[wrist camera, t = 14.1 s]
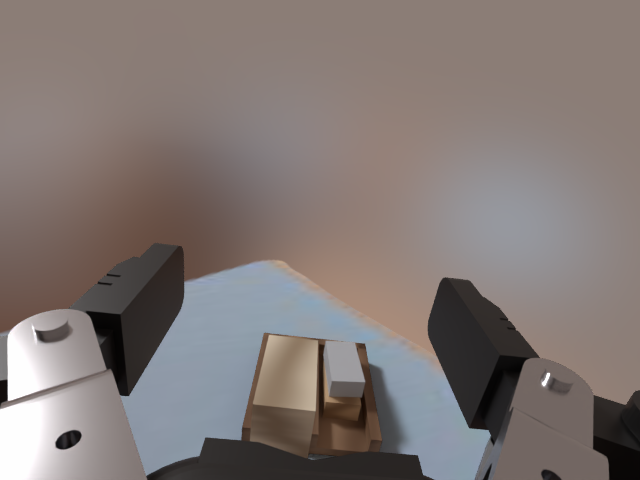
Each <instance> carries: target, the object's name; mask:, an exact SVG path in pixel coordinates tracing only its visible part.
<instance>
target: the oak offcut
mask: <svg viewBox="0 0 640 480" xmlns="http://www.w3.org/2000/svg"><path fill="white" fill-rule="evenodd" d="M322 390H323V417H324V418H334V419H344V420H355V421H358V416H359V412H360V408H361V401H360V397H330V396H329V393H328V386H327V378H326V371H325V364H324V363H323V368H322Z"/></svg>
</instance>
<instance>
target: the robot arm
mask: <svg viewBox="0 0 640 480" xmlns="http://www.w3.org/2000/svg"><path fill="white" fill-rule="evenodd" d="M183 299H184V253H183V248H182V247H181V246H176V245H167V244H159V243H155V244H153V245H152V246H151V247H150V248H149V249H148V250H147V251H146V252H145V253H144V254H143V255H142V256H141V257H140V258H138V257H132V258H130V259H128V260H126V261H124V262H121V263H119V264H117V265H116V266H115V267H114V268H113V269H112V270H110V271H109V272H108V273H107V276H104V277H103V278H102V279H100V280H99V281H98V284H95V285H94V286H93V287H92V288H91V289H89V290H88V291H87V292H86V293H85V294H84V295H83V296H82V297H81V298H79V300H77V301H76V302H75V303H74V304H73V305H72V306H71V307H69V308H68V309H61V310H52V311H47V312H43V313H40V314H37V315H34V316H32V317H30V318H28V319H26V320H24V321H22V322H21V323H19V324H18V325H16V326H15V327H14V328H13V329H12V330H11V331H10V333H9V335H8V336H0V480H434V479H432V478H429V477H427V476H424V475H423V473H422V469H421V466H420V462H419V458H418V455H406V454H395V453H383V452H371V451H365V452H360V453H354V454H348V455H343V456H337V457H331V458H326V459H320V460H311V459H307V458H304V457H301V456H298V455H295V454H293V453H290V452H287V451H284V450H281V449H278V448H275V447H272V446H269V445H266V444H263V443H260V442H252V441H240V440H229V439H217V438H205V441H204V444H203V447H202V450H201V453H200V456H198V457H192V458H188V459H185V460H181V461H178V462H175V463H172V464H170V465H167V466H165V467H162V468H160V469H159V470H157V471H155V472H153V473H151V474H149V475H147V476H146V475H145V471H144V468H143V465H142V462H141V459H140V456H139V453H138V450H137V447H136V444H135V441H134V438H133V434H132V431H131V428H130V425H129V422H128V419H127V416H126V413H125V410H124V407H123V404H122V400H121V397H120V395H121V396H129V395H130V393H131V391H132V390H133V388H134V386H135V385H136V383H137V382H138V380H139V378H140V377H141V375H142V373H143V372H144V370H145V368H146V367H147V365H148V363H149V362H150V360H151V358H152V357H153V355H154V353H155V352H156V350H157V348H158V347H159V345H160V343H161V342H162V340H163V338H164V337H165V335H166V333H167V332H168V330H169V328H170V327H171V325H172V323H173V322H174V320H175V318H176V317H177V315H178V313H179V312H180V309H181V307H182V303H183ZM428 336H429V339H430V341H431V344H432V346H433V348H434V350H435V353H436V355H437V357H438V359H439V362H440V364H441V366H442V368H443V371H444V373H445V375H446V377H447V380H448V382H449V384H450V386H451V389H452V391H453V393H454V395H455V398H456V400H457V402H458V404H459V407H460V409H461V411H462V413H463V416H464V418H465V420H466V422H467V424H468V427H469V428H473V429H484V430H489V432H490V434H491V436H490V439H489V441H488V443H487V445H486V448H485V451H484V454H483V457H482V459H481V462H480V465H479V468H478V471H477V474H476V477H475V480H640V390H639V391H635V392H634V393H633V395H632V396H631V398H630V399H629V401H628V402H627V404H626V405H623V404H620V403H617V402H614V401H611V400H607V399H604V398H601V397H598V396H595V395H593V392H592V390H591V388H590V387H589V385H588V384H587V383H586V382H585V381H584V380H583V379H582V378H581V377H580V376H579V375H577V374H576V373H575V372H573V371H572V370H570V369H568V368H567V367H565V366H563V365H561V364H559V363H556V362H554V361H551V360H547V359H543V358H540V357H539V356H538V355H537V353H536V352H535V351H534V350H533V349H532V347H531V346H530V345H529V344H528V343H527V341H526V340H525V339H524V338H523V336H522V335H521V334H520V333H519V332H518V331H516V328H515V327H514V325H513V324H512V323H511V322H510V321H508V318H507V317H506V316H505V314H504V313H503V312H502V311H501V310H500V308H499V307H497V306H496V305H494V304H493V303H492V302H490V301H489V300H487V299H486V298H485V297H482V295H481V294H480V293H479V292H478V290H477V289H476V288H475V287H474V285H473V284H472V283H471V282H470V281H469V280H463V279H454V278H443V279H442V280H441V282H440V284H439V287H438V290H437V294H436V297H435V300H434V304H433V307H432V310H431V313H430V317H429V320H428Z"/></svg>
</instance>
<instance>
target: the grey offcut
mask: <svg viewBox="0 0 640 480" xmlns="http://www.w3.org/2000/svg"><path fill="white" fill-rule="evenodd" d="M323 356H324V364H325V371H326V378H327V386H328V393H329V396H330V397H362V394H363V390H364V386H365V379H364V375H363V372H362V368H361V364H360V360H359V356H358V353H357V349H356V345H355V342H341V341H326V342H325V348H324V354H323Z"/></svg>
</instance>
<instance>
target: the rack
mask: <svg viewBox="0 0 640 480" xmlns="http://www.w3.org/2000/svg"><path fill="white" fill-rule="evenodd" d="M269 335H276V336H284V337H293V338H301V339H310V340H318V357H317V386H316V412H315V418H314V424H313V430H312V436H311V441H310V447H309V453H310V454H321V455H332V456H343V455H348V454H354V453H360V452H365V451H371V452H379V450H380V446H381V443H382V437H381V432H380V426H379V420H378V415H377V409H376V403H375V398H374V392H373V386H372V381H371V375H370V369H369V364H368V358H367V352H366V346H365V344H362V343H355V345H356V349H357V353H358V356H359V360H360V364H361V368H362V372H363V375H364V379H365V386H364V390H363V394H362V397H360V401H361V408H360V412H359V416H358V421H355V420H344V419H334V418H324V417H323V390H322V368H323V363H324V356H323V354H324V348H325V342H326V341H334V340H325V339H316V338H307V337H297V336H288V335H279V334H270V333H264V336H263V340H262V344H261V349H260V353H259V357H258V362H257V366H256V370H255V375H254V379H253V383H252V388H251V392H250V396H249V401H248V405H247V409H246V414H245V418H244V422H243V427H242V440H241V441H250V432H251V419H252V407H253V401H254V397H255V392H256V388H257V384H258V380H259V375H260V371H261V367H262V363H263V358H264V354H265V350H266V346H267V341H268V337H269ZM341 342H344V341H341Z"/></svg>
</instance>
